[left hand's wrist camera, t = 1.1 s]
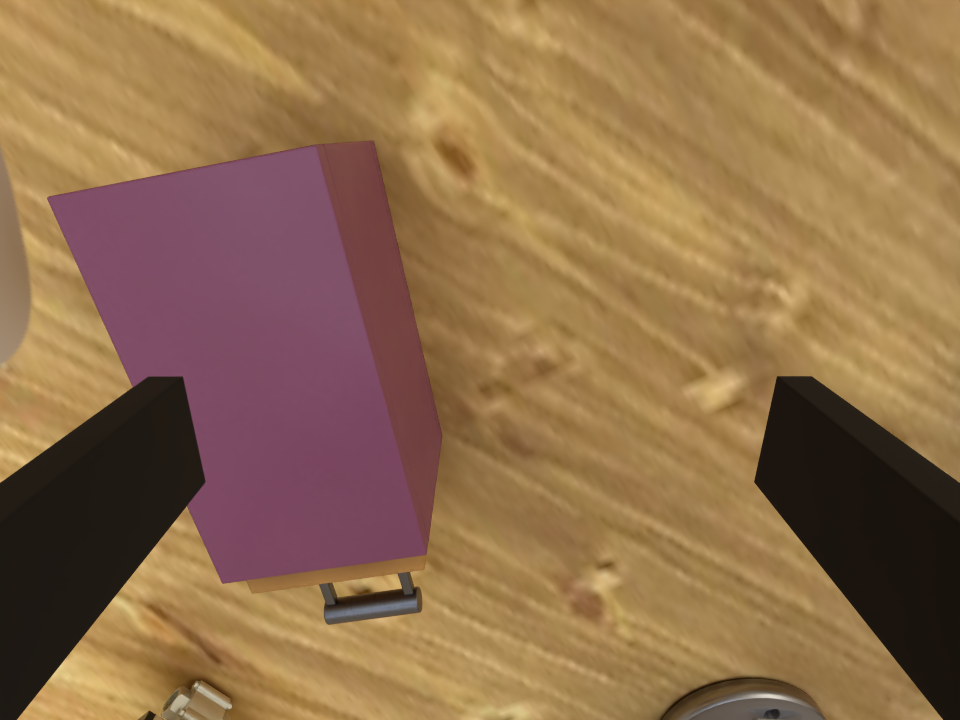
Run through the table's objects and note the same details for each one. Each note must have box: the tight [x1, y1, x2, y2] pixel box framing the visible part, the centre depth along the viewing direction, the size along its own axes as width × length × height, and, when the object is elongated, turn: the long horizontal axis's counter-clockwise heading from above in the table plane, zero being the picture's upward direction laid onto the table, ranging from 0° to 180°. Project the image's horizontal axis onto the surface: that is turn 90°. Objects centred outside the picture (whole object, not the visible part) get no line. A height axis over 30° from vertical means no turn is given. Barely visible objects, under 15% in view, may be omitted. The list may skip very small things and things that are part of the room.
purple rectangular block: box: [47, 141, 442, 584], centre depth 30 cm, size 20×11×12 cm, turn 10°
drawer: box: [246, 554, 427, 625], centre depth 32 cm, size 24×10×10 cm, turn 10°
